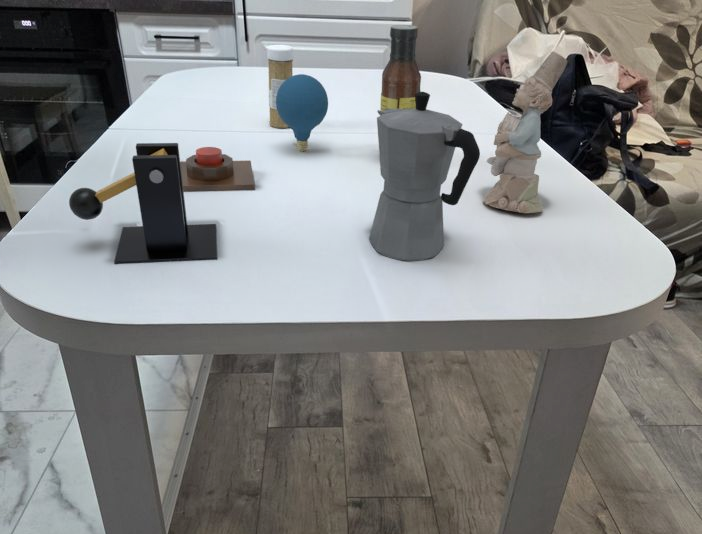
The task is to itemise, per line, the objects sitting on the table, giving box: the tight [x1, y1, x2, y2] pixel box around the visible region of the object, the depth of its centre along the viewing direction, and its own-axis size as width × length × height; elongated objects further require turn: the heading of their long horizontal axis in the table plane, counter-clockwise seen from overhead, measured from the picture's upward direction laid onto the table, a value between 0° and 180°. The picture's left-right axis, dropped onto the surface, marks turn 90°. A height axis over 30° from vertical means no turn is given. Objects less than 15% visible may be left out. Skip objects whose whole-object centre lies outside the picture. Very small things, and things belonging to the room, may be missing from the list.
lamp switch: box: [113, 142, 218, 265], centre depth 69 cm, size 11×9×12 cm
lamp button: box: [195, 146, 223, 166], centre depth 88 cm, size 4×4×2 cm
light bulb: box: [276, 73, 329, 152], centre depth 101 cm, size 8×8×12 cm
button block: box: [180, 153, 256, 193], centre depth 89 cm, size 12×10×4 cm
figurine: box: [482, 51, 568, 214], centre depth 83 cm, size 9×8×20 cm
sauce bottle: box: [379, 24, 422, 110], centre depth 97 cm, size 6×6×20 cm
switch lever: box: [68, 148, 168, 221], centre depth 67 cm, size 12×3×3 cm, turn 101°
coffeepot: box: [368, 91, 481, 262], centre depth 71 cm, size 15×9×18 cm, turn 39°
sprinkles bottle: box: [266, 44, 294, 129], centre depth 112 cm, size 5×5×13 cm
